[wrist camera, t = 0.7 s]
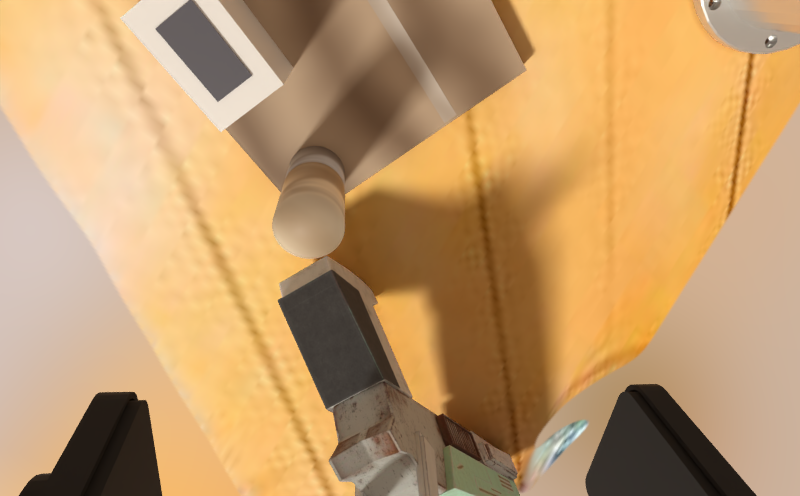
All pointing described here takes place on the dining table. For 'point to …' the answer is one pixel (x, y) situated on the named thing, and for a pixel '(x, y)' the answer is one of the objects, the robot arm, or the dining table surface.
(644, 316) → the dining table surface
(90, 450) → the robot arm
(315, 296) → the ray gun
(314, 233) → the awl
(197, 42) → the white rectangular block
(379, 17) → the board
